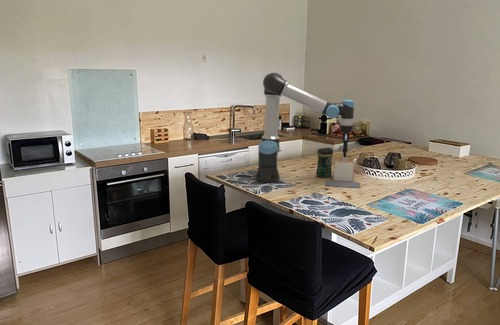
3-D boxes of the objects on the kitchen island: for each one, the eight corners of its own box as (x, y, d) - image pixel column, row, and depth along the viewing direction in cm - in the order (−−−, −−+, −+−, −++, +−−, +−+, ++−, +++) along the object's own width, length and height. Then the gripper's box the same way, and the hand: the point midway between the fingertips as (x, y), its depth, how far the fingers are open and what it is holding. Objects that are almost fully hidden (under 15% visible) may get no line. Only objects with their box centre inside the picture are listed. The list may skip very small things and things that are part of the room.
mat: (325, 185, 225) (325, 185, 225) (326, 180, 235) (326, 180, 235) (360, 188, 220) (360, 187, 220) (359, 183, 230) (359, 182, 230)
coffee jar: (322, 178, 239) (323, 149, 235) (314, 175, 246) (315, 147, 241) (333, 176, 244) (335, 148, 239) (325, 173, 251) (327, 146, 246)
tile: (332, 180, 235) (334, 161, 232) (333, 179, 237) (334, 161, 234) (352, 182, 232) (354, 163, 229) (352, 181, 234) (354, 162, 231)
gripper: (352, 126, 229) (350, 164, 235) (352, 123, 241) (350, 159, 247) (340, 126, 231) (338, 163, 236) (340, 123, 243) (338, 159, 249)
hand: (344, 161), depth 242 cm, fingers closed
